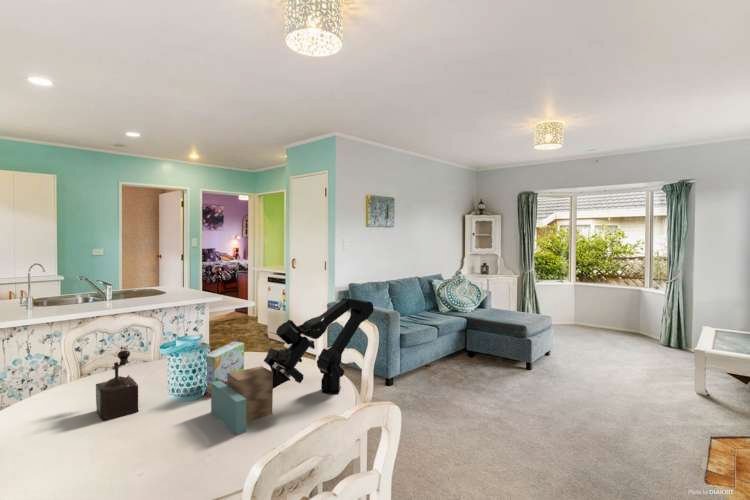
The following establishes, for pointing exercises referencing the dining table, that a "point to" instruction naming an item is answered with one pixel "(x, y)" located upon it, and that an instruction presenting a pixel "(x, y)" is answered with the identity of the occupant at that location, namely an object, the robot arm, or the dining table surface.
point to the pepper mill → (117, 393)
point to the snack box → (224, 363)
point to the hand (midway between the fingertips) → (267, 390)
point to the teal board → (228, 407)
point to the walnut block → (254, 390)
